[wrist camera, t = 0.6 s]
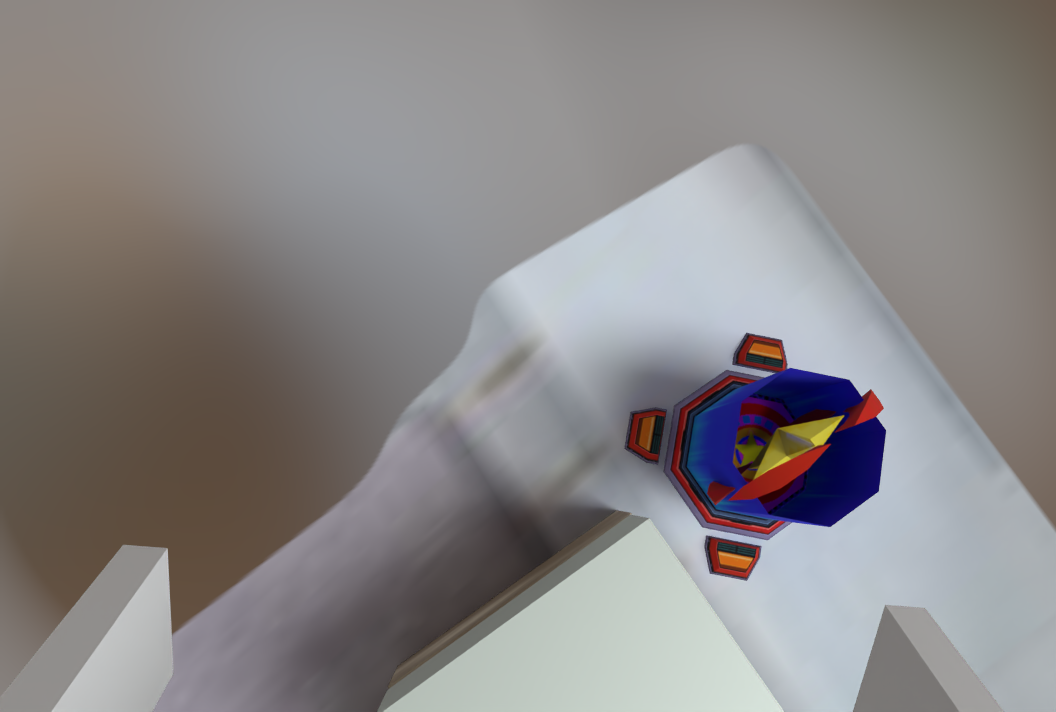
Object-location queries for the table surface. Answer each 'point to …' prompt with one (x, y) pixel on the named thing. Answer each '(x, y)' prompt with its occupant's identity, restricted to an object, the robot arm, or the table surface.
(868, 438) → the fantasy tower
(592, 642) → the top block
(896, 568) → the table surface
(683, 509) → the table surface
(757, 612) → the table surface
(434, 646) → the base block
